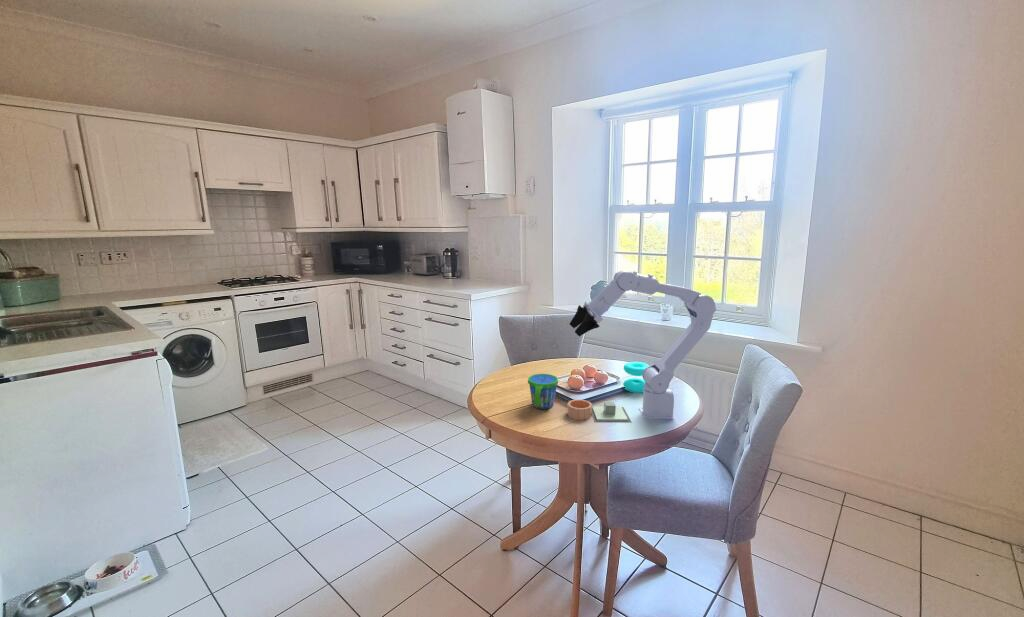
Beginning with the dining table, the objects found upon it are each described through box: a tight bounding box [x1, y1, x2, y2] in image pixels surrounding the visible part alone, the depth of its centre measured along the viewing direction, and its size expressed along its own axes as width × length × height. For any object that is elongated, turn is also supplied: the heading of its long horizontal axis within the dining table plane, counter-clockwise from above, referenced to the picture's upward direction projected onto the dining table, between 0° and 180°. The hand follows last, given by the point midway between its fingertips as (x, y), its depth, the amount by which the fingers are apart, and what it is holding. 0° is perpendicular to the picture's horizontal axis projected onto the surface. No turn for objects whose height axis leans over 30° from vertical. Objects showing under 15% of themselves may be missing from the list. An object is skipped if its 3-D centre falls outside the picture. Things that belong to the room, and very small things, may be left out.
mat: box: [591, 406, 633, 423], centre depth 146 cm, size 12×12×1 cm
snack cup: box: [527, 373, 559, 410], centre depth 153 cm, size 16×10×10 cm
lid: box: [592, 401, 628, 421], centre depth 145 cm, size 10×10×4 cm
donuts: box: [622, 361, 650, 394], centre depth 168 cm, size 10×10×10 cm
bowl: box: [566, 399, 593, 421], centre depth 146 cm, size 8×8×4 cm
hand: (574, 330), depth 141 cm, fingers open, 7 cm apart
